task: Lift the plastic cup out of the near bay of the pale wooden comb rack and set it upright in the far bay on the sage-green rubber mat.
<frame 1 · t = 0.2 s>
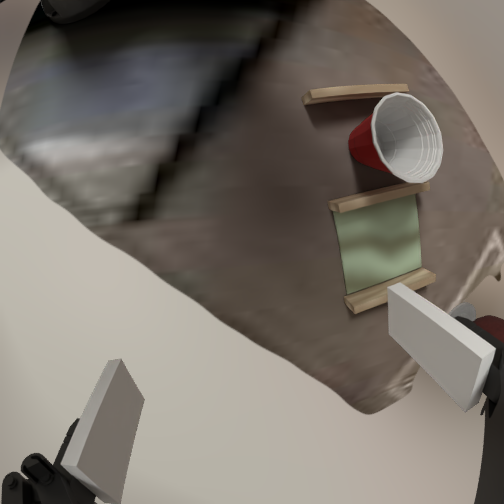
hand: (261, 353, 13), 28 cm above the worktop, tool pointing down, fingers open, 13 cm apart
plastic cup: (364, 144, 38), on the worktop
mate gourd: (456, 330, 50), on the worktop
comb rack: (375, 193, 40), on the worktop
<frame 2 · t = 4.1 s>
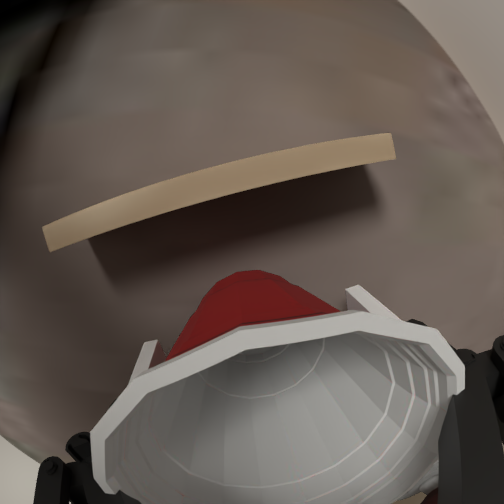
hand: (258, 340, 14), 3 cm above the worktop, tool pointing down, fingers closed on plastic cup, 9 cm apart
plastic cup: (250, 310, 17), on the worktop, touching gripper
mate gourd: (424, 477, 29), on the worktop
comb rack: (276, 400, 19), on the worktop
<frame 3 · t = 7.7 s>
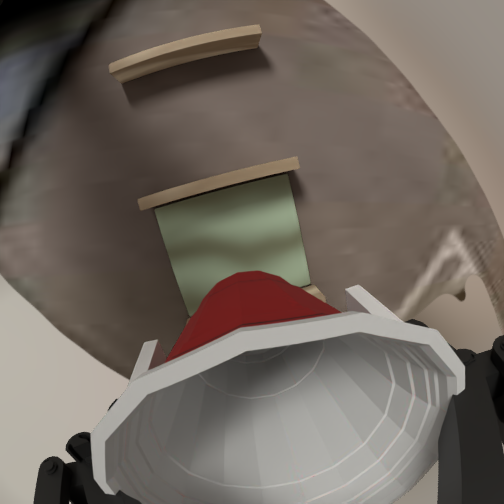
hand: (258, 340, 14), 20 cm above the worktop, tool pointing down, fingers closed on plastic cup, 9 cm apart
plastic cup: (250, 311, 17), point 16 cm above the worktop, touching gripper
comb rack: (218, 181, 30), on the worktop
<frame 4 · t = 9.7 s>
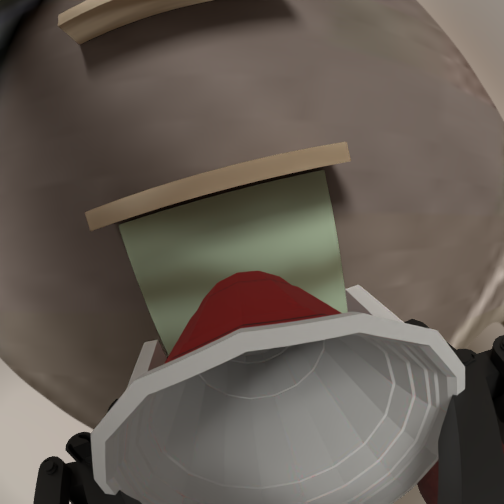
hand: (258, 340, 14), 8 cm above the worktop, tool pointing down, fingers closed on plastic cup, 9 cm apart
plastic cup: (250, 311, 17), point 5 cm above the worktop, touching gripper
mate gourd: (427, 408, 29), on the worktop
comb rack: (215, 180, 19), on the worktop
when the fingers open (5 cm above the worktop, at t = 11.3 s): plastic cup moves 3 cm, point 1 cm above the worktop.
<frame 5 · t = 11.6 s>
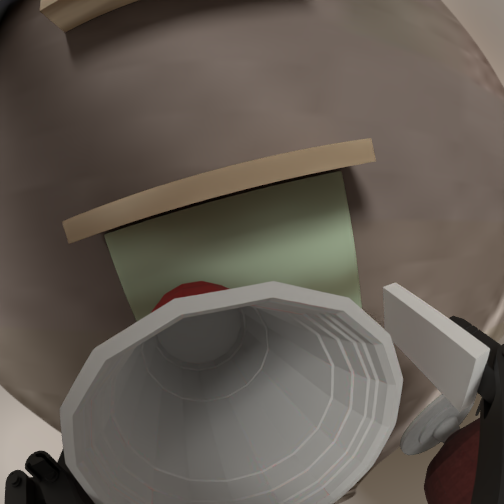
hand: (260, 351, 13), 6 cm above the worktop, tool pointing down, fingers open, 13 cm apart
plastic cup: (197, 320, 18), point 1 cm above the worktop, touching gripper
mate gourd: (438, 422, 26), on the worktop
comb rack: (216, 182, 16), on the worktop
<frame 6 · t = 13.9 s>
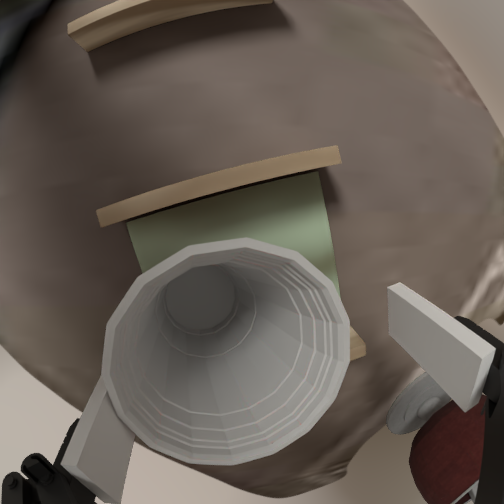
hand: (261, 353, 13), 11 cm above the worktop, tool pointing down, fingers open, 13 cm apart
plastic cup: (200, 293, 22), point 1 cm above the worktop, touching comb rack, gripper
mate gourd: (422, 403, 31), on the worktop
comb rack: (217, 181, 21), on the worktop
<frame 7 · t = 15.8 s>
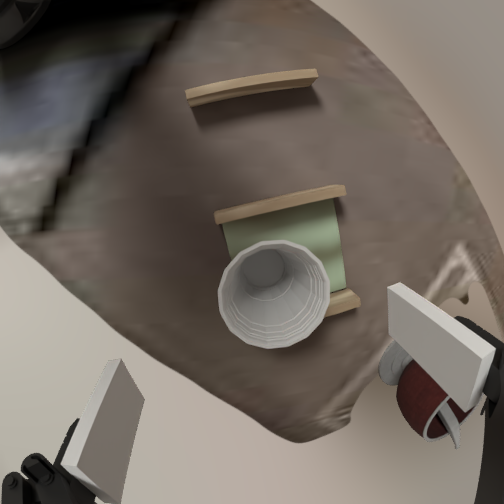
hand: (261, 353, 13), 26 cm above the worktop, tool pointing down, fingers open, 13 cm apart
plastic cup: (263, 265, 38), resting on comb rack
mate gourd: (405, 360, 46), on the worktop
comb rack: (276, 201, 37), on the worktop
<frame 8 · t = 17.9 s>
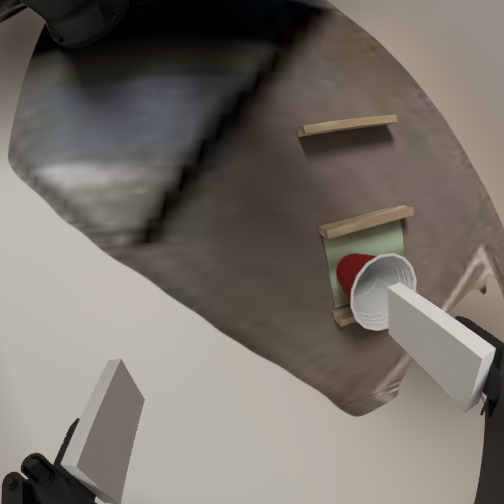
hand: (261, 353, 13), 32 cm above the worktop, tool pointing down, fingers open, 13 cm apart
plastic cup: (351, 268, 47), resting on comb rack
comb rack: (362, 218, 45), on the worktop
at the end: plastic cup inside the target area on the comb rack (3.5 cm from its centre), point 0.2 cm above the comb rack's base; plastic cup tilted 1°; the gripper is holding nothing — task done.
